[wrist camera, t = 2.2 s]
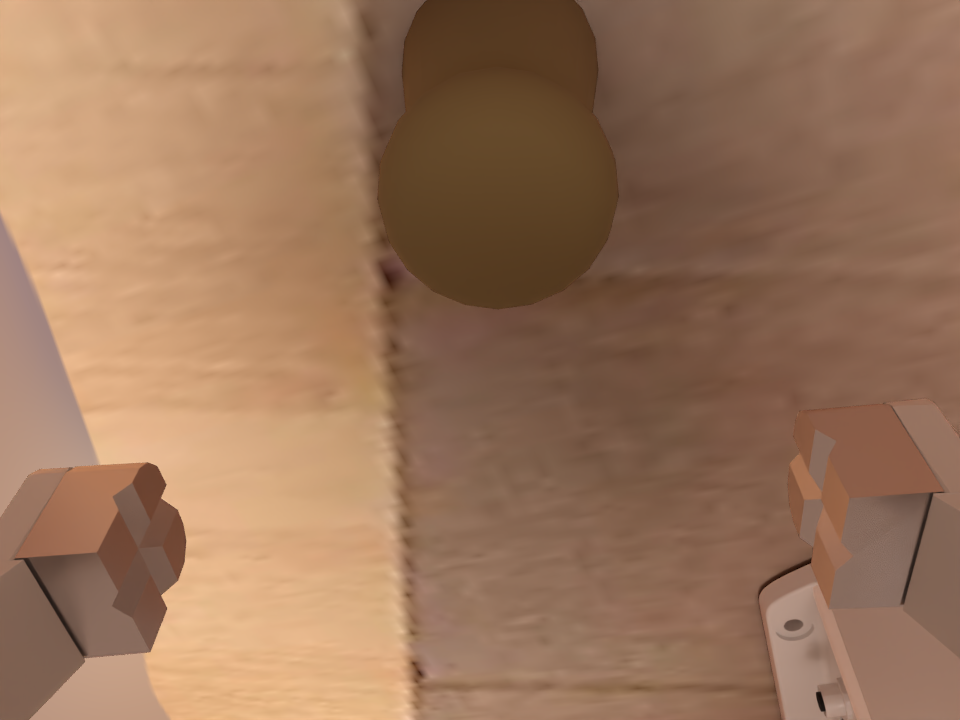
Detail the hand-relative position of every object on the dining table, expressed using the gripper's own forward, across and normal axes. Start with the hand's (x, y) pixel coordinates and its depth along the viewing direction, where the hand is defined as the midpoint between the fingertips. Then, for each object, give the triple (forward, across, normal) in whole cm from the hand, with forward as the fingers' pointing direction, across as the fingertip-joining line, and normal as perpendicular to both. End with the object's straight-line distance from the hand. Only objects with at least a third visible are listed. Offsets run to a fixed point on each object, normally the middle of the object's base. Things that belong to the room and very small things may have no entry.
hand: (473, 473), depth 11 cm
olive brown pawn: (+19, 0, 0) cm, 19 cm away
